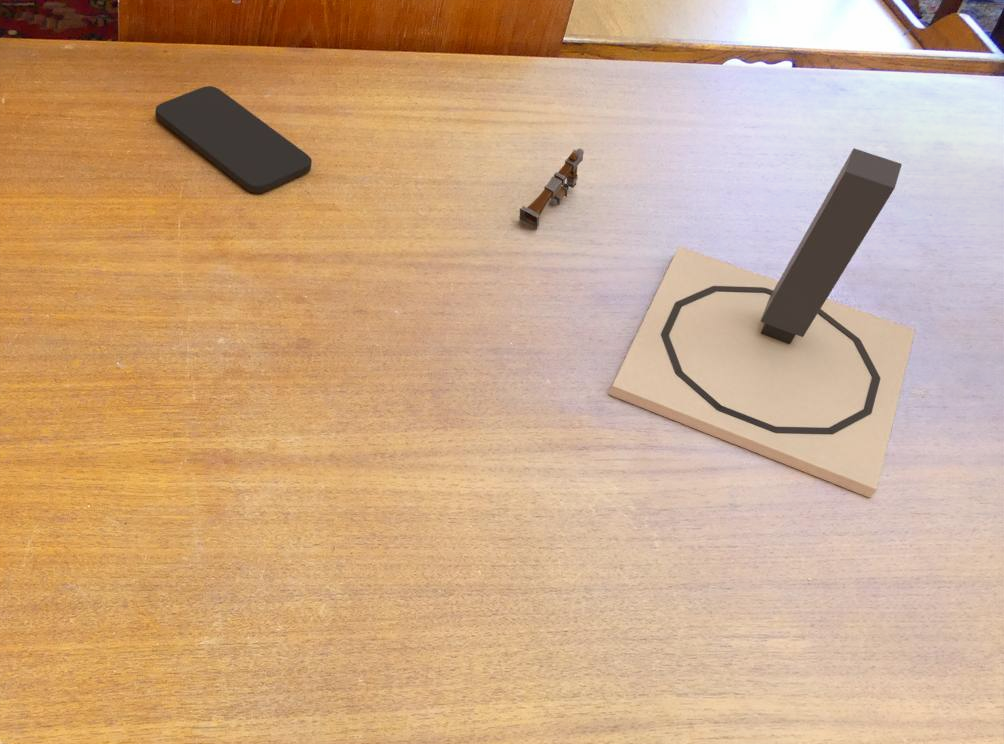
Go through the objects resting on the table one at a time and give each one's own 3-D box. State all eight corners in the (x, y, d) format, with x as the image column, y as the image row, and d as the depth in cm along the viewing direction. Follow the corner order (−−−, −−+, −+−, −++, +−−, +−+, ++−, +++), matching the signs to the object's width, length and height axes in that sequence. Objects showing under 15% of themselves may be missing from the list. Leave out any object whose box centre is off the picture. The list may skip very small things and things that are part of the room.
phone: (254, 190, 96) (149, 107, 102) (254, 198, 97) (149, 115, 103) (317, 161, 99) (212, 82, 105) (316, 169, 100) (211, 91, 106)
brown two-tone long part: (587, 180, 100) (591, 147, 96) (535, 246, 99) (537, 216, 95) (570, 171, 101) (573, 138, 97) (518, 237, 100) (519, 206, 96)
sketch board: (909, 339, 92) (916, 328, 91) (870, 498, 81) (878, 488, 80) (674, 254, 96) (679, 244, 95) (607, 394, 85) (612, 384, 84)
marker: (802, 326, 90) (902, 163, 78) (794, 350, 88) (895, 187, 76) (761, 311, 91) (853, 147, 79) (752, 335, 89) (845, 171, 77)
